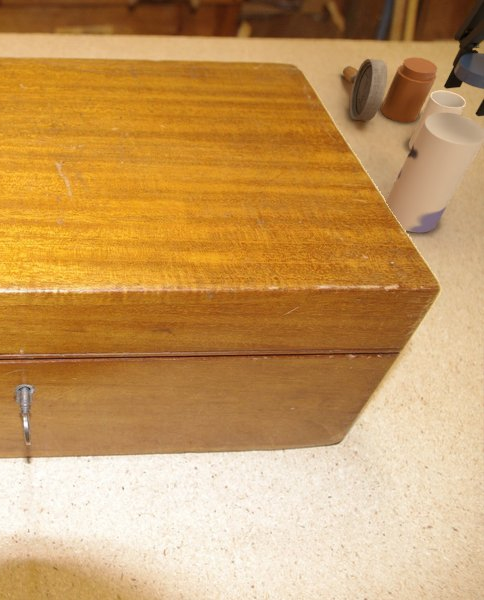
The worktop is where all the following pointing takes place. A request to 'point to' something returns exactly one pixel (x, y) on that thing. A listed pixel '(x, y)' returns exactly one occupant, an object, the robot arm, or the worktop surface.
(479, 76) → the lid
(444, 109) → the mug
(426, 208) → the container
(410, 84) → the jar
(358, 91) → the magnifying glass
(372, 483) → the worktop surface
